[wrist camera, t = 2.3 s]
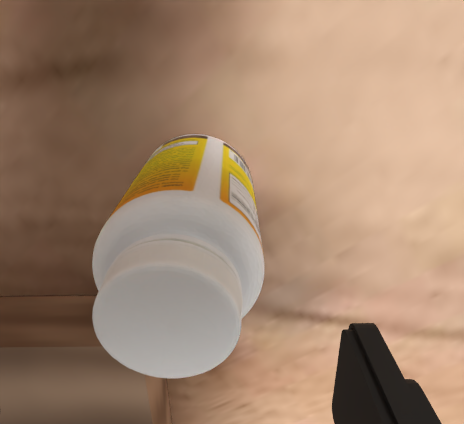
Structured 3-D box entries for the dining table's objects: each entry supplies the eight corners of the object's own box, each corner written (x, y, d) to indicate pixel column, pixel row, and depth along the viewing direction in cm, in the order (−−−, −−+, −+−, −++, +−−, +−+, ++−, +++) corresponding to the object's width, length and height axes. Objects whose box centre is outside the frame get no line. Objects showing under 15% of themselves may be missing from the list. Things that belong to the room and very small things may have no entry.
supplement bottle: (129, 206, 19) (34, 361, 10) (168, 110, 17) (93, 196, 8) (224, 247, 20) (216, 421, 11) (272, 161, 18) (313, 289, 9)
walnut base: (-78, 297, 22) (-139, 348, 18) (155, 294, 22) (139, 346, 18) (-8, 443, 28) (-44, 503, 24) (174, 442, 28) (165, 502, 24)
